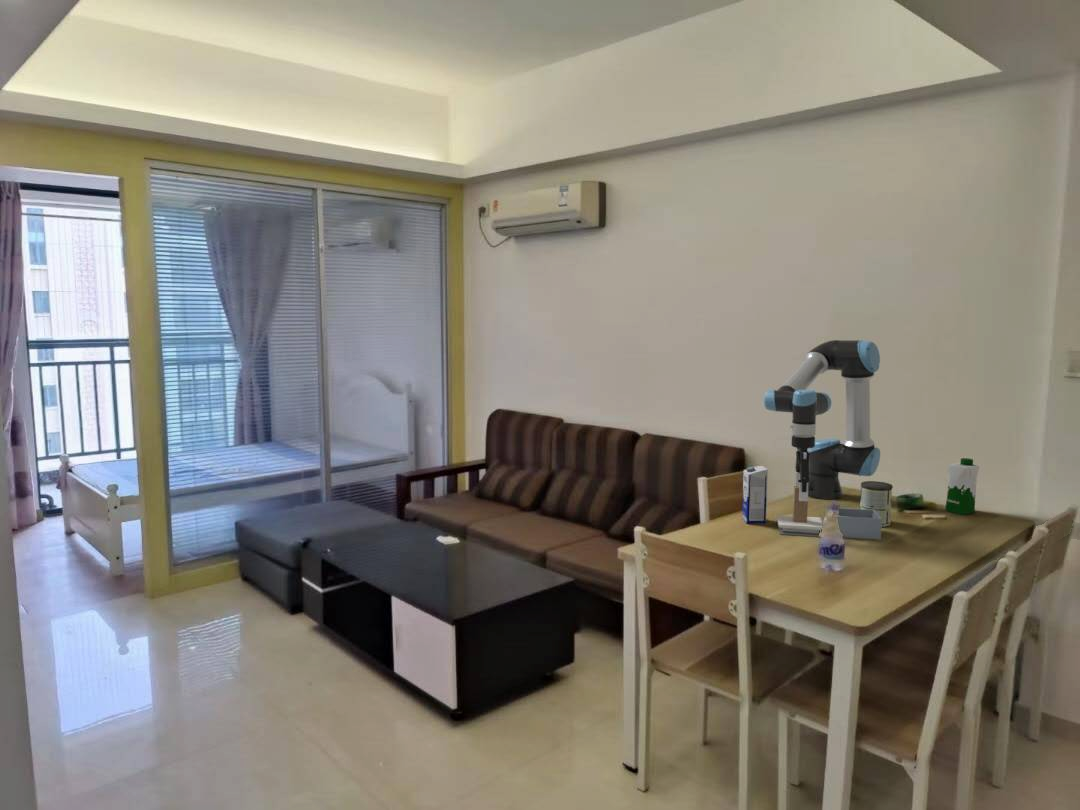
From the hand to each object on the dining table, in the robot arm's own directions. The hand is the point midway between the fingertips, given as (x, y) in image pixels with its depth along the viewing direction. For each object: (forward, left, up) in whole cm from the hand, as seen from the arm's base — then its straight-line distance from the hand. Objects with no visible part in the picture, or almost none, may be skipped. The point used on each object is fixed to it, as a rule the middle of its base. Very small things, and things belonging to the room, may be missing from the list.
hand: (801, 495), depth 253 cm
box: (0, +18, -12) cm, 21 cm away
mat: (0, 0, -12) cm, 12 cm away
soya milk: (-38, +61, -12) cm, 73 cm away
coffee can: (-15, +27, -12) cm, 33 cm away
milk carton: (-7, -15, -12) cm, 21 cm away
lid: (0, 0, -11) cm, 12 cm away
